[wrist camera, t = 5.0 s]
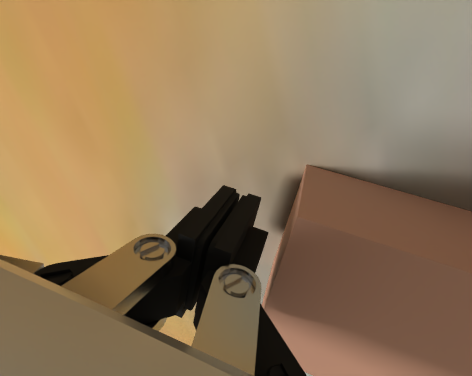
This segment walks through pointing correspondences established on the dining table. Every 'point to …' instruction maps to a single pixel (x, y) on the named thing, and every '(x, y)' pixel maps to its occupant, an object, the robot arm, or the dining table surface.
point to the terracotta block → (373, 281)
